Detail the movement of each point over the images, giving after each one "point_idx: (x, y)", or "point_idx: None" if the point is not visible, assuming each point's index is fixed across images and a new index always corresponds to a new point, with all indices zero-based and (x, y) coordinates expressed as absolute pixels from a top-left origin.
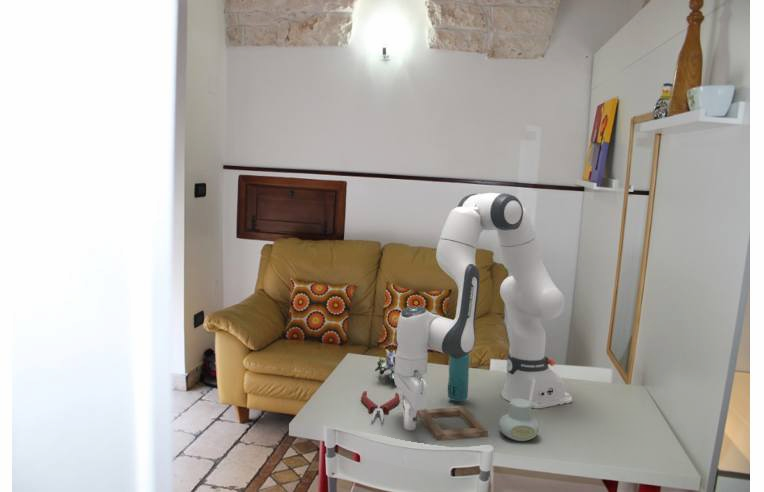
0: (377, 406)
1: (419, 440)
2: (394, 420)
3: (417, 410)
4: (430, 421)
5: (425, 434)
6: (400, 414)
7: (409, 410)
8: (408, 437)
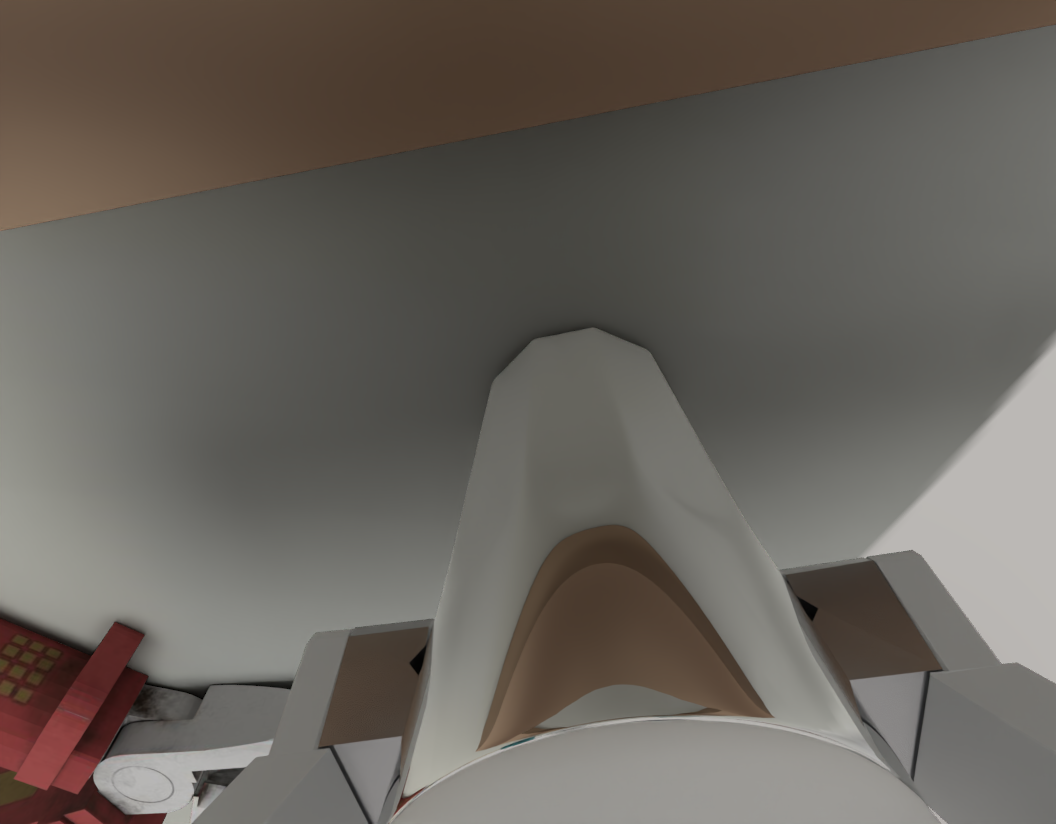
0: (88, 814)
1: (1030, 315)
2: (315, 574)
3: (738, 549)
4: (497, 25)
5: (839, 181)
6: (73, 488)
7: (922, 796)
8: (882, 456)
